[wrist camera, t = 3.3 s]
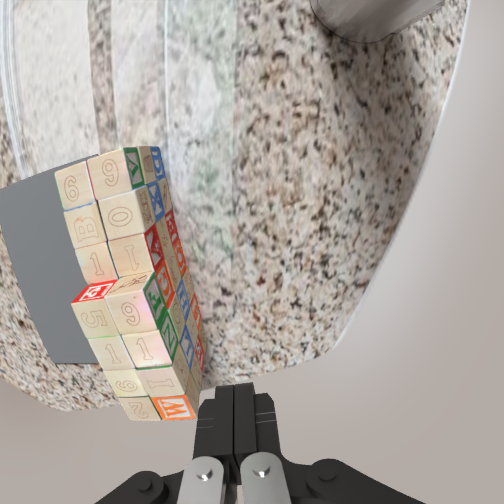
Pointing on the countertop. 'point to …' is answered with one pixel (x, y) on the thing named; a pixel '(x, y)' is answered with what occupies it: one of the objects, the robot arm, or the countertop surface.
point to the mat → (46, 263)
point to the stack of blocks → (135, 283)
